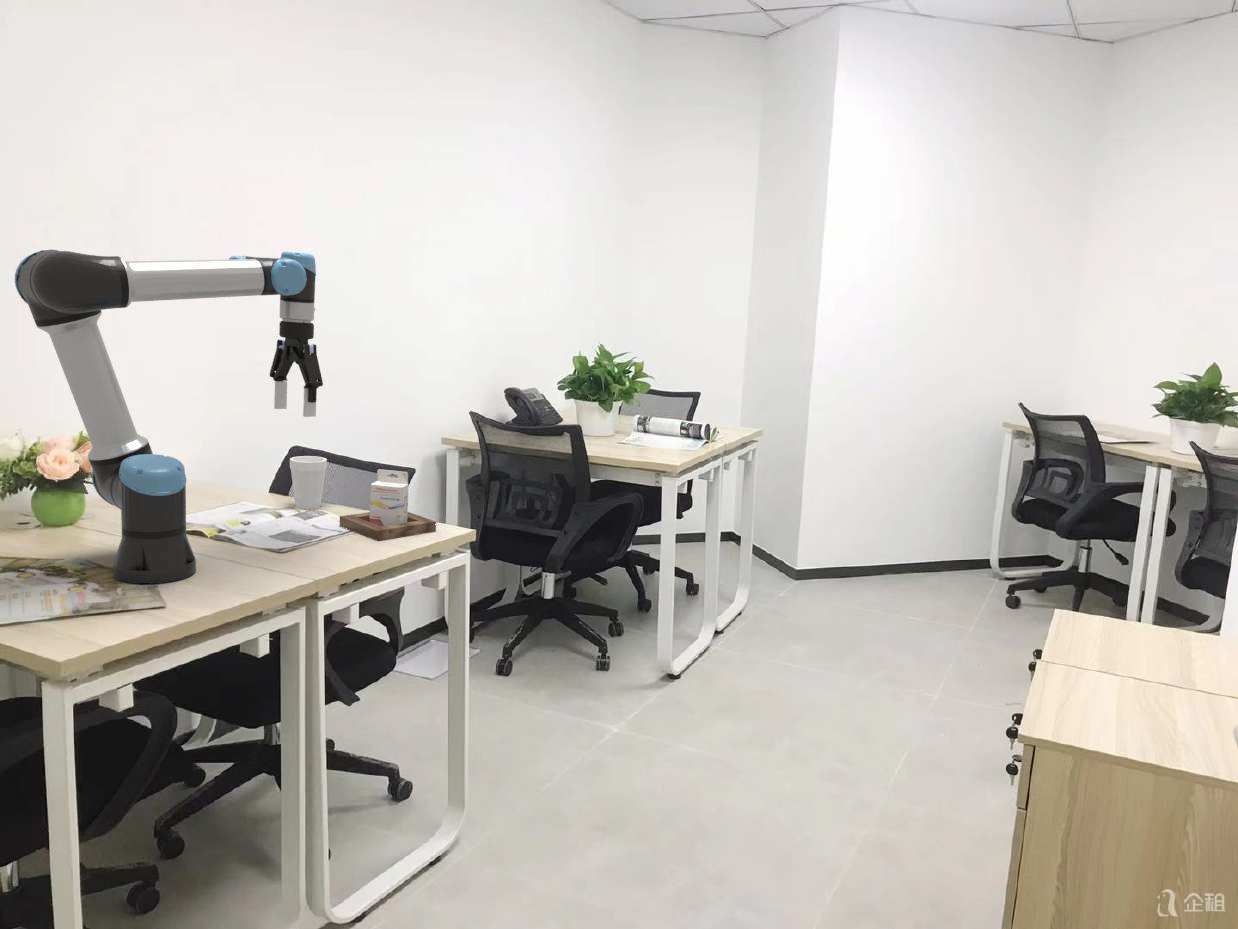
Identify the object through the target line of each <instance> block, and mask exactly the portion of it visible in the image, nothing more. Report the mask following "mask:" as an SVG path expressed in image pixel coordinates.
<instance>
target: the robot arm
mask: <svg viewBox="0 0 1238 929" xmlns="http://www.w3.org/2000/svg"><path fill="white" fill-rule="evenodd" d="M316 271H317V268H316V258H315V256H314V255H313V254H311V253H304V252H294V251H283V252H281V255H280V257H279V258H277V257H276V258H274V257H256V256H247V255H232V256H230V257H229V258H228V259H193V260H191V259H187V260H186V259H185V260H184V259H183V260H180V259H179V260H143V261H142V260H141V261H134V260H133V261H132V260H131V261H126V259H124V258H122V257H121V256H120V255H119V256H117V255H114V256H113V255H112V256H111V255H109V256H107V255H94V254H93V255H92V254H87V253H86V254H85V253H82V252H81V253H79V252H75V251H68V250H58V249H47V250H46V249H45V250H44V249H41V250H40V251H36V252H33V253H31V254H29V255H27V256H26V257H24V258H23V259H22V260H21V261H20V263H19V264H18V265H17V268H16V269H15V273H14V284H15V289H16V291H17V293H18V295H19V296H20V298H21V299H22V300H23V302H24V303H25V304H27V305H28V308H29V310H30V313H31V316H32V319H33V320H34V323H35V325H36V328H37V329H39V330H41V331H43V332H46V333H47V334H48V335H49V339H51V342H52V345H53V348H54V350H55V353H56V355H57V358H58V361H59V363H60V367H61V368H62V371H63V374H64V376H65V379H66V381H67V384H68V388H70V389H69V390H70V392H71V394H72V397H73V399H74V402H75V405H76V407H77V410H78V412H79V415H80V418H81V420H82V423H83V426H84V428H85V431H86V433H87V436H88V438H89V441H90V444H91V446H92V447H91V449H90V451H89V452H88V454H87V459H88V462H89V464H90V467H91V470H92V472H91V480H92V481H91V482H92V484H93V487H94V490H95V491H96V493H97V494H98V496H100V498H101V499H103V500H104V501H105V502H107V503H108V504H110V505H112V506H114V507H116V508H117V509H119V510H120V515H121V517H120V518H121V519H120V520H121V522H120V523H121V540H120V541H119V546H118V548H117V551H116V554H115V557H114V561H113V564H112V577H113V578H114V579H116V580H118V581H120V582H124V583H129V582H131V584H140V583H150V584H161V583H163V584H164V583H170V582H176V581H178V580H179V581H180V580H183V579H187V578H189V577H190V576H192V575H193V574H195V573H196V572H197V561H196V556H195V554H194V551H193V549H192V547H191V544H190V542H189V541H190V540H189V538H188V536H187V505H186V504H187V500H186V499H187V496H186V495H187V491H186V490H187V489H186V488H187V487H186V486H187V485H186V484H187V475H186V470H185V465H184V464H183V462H181V460H179V459H177V458H175V457H173V456H168V455H164V454H158V453H157V454H156V453H155V454H154V453H153V450H152V447H151V445H150V442H149V440H148V438H147V437H144V436H143V435H140V434H138V432H137V430H136V426H135V425H134V422H133V420H132V416H131V414H130V411H129V408H128V405H127V403H126V400H125V397H124V394H123V391H122V388H121V387H120V386H121V385H120V383H119V381H118V378H117V375H116V372H115V370H114V367H113V364H112V361H111V358H110V356H109V353H108V350H107V348H106V345H105V342H104V340H103V336H102V333H101V331H100V328H99V326H98V321H99V319H100V318H101V316H102V313H103V312H102V311H103V310H112V309H113V310H114V309H123V308H128V307H129V306H130V305H131V304H132V303H135V302H137V303H138V302H154V301H158V302H159V301H176V300H195V299H196V300H198V299H214V298H215V299H216V298H232V297H233V298H236V297H253V296H254V297H255V296H277V295H278V296H279V318H280V319H281V320H280V322H279V327H278V328H279V331H278V332H279V337H280V338H284V339H277V341H276V350H275V354H274V357H273V361H272V363H271V368H270V370H269V377H270V378H272V379H273V381H274V400H273V401H274V404H273V405H274V408H273V409H274V410H284V409H287V407H288V406H287V405H288V404H287V403H288V402H287V401H288V396H287V395H288V378H287V376H288V375H289V372H290V370H291V368H292V367H293V364H294V363H295V364H296V365H298V368H299V370H300V372H301V377H302V378H303V379H302V380H303V381H304V386H303V406H302V407H303V409H302V410H303V411H302V412H303V414H302V416H303V417H304V418H305V417H307V418H309V417H317V395H318V394H317V389H319V387H323V385H324V382H323V377H322V374H321V373H322V372H321V368H320V364H319V359H318V354H317V352H318V351H317V345H316V344H313V343H312V344H311V343H309V340H313V339H314V337H315V335H314V334H315V333H314V332H315V324H314V323H313V322H312V321H314V320H315V310H316V308H315V299H316V298H315V295H316V276H317V273H316ZM193 576H194V575H193Z"/></svg>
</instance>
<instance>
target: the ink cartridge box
mask: <svg viewBox="0 0 1238 929" xmlns="http://www.w3.org/2000/svg"><path fill="white" fill-rule="evenodd" d="M376 472H377V473H376V475H377V476H376V477H377V478H376V481H374V482H372V483H371V484H370V489H369V490H370V493H369V512H370V514H369V522H371V523H374V524H376V525H379V526H388V525H394V524H401V523H407V515H408V512H409V510H408V509H409V485H410V484H409V473H408V471H402V470H401V471H400V470H399V471H398V470H393V469H392V470H391V469H390V470H389V469H382V468H381V469H380V468H379V469H377V471H376ZM388 475H389V476H388ZM391 475H394V476H397V477H393V476H391Z"/></svg>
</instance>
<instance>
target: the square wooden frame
mask: <svg viewBox="0 0 1238 929" xmlns="http://www.w3.org/2000/svg"><path fill="white" fill-rule="evenodd" d="M369 514H370V511H369V512H360V513H353V514H346V515H340V516H339V527H341V528H344V529H346V528H347V530H349V531H351V532H354V533H356V534H359V535H362V536H364V537H366V538H369V539H372V540H374V541H377V542H381V541H385V540H391V539H392V540H393V539H397V538H403V537H404V538H405V537H408V536H416V535H422V534H427V533H432V532H434V533H435V532H437V521H436V520H432V519H429V518H426V517H425V516H421V515H419V514H416V513H412V512H410V511H408V515H407V523H401V524H394V525H388V526H379V525H376V524H374V523H371V522H369ZM435 524H436V525H435ZM415 534H416V535H415Z"/></svg>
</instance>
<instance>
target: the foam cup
mask: <svg viewBox="0 0 1238 929" xmlns="http://www.w3.org/2000/svg"><path fill="white" fill-rule="evenodd" d="M327 468H328V459H327V458H326V457H322V456H315V455H314V456H313V455H304V456H303V455H302V456H293V457H292V456H291V457H290V458H289V469H290V473H291V474H290V475H291V481H292V490H293V495H294V502H295V503H294V504H295V508H296V509H301V510H302V509H303V510H316V509H319V508H321V504H322V498H323V491H324V486H325V477H326V473H327V472H326V471H327Z"/></svg>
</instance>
